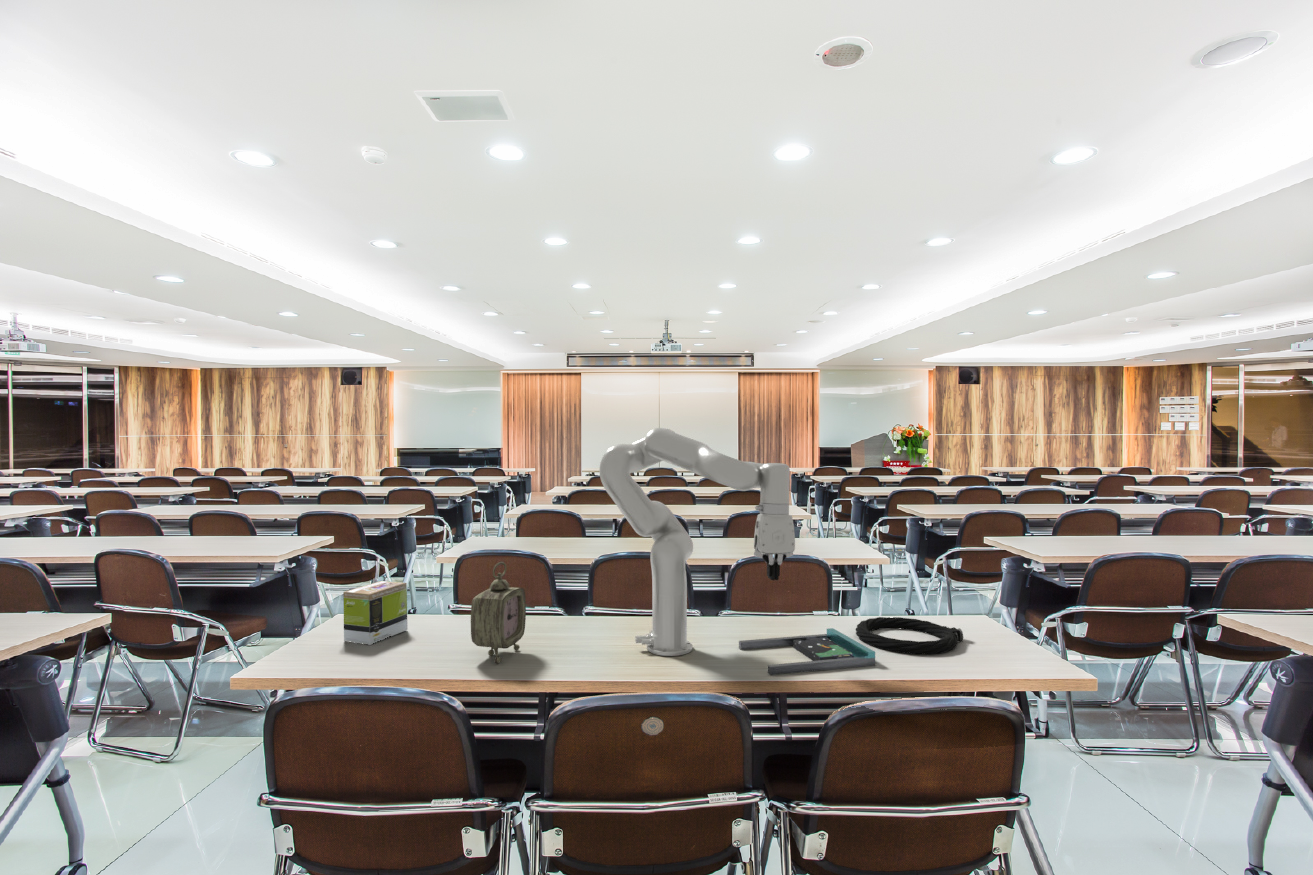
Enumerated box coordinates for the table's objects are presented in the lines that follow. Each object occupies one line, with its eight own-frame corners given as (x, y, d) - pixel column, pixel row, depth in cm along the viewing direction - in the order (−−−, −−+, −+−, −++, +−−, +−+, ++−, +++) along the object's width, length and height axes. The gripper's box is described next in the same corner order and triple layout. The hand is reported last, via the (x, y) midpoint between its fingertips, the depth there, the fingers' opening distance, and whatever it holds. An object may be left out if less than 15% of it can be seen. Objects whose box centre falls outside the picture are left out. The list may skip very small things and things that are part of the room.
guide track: (770, 675, 151) (770, 660, 151) (738, 647, 171) (738, 635, 172) (875, 665, 158) (875, 651, 158) (832, 640, 178) (832, 628, 178)
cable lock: (843, 614, 193) (940, 615, 193) (843, 627, 193) (940, 627, 193) (873, 642, 166) (985, 643, 165) (873, 657, 166) (985, 658, 165)
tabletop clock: (500, 667, 156) (500, 568, 157) (468, 664, 158) (468, 566, 159) (525, 649, 170) (526, 558, 171) (495, 646, 172) (496, 556, 173)
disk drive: (792, 650, 172) (820, 667, 158) (792, 639, 172) (820, 656, 158) (825, 646, 175) (855, 664, 160) (825, 636, 175) (855, 653, 160)
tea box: (381, 627, 190) (382, 579, 190) (408, 631, 187) (408, 582, 187) (342, 642, 176) (342, 590, 176) (369, 646, 172) (370, 593, 173)
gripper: (753, 511, 158) (752, 583, 158) (806, 511, 161) (805, 581, 161) (742, 508, 165) (741, 577, 165) (793, 508, 169) (792, 575, 168)
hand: (773, 579), depth 163 cm, fingers closed
